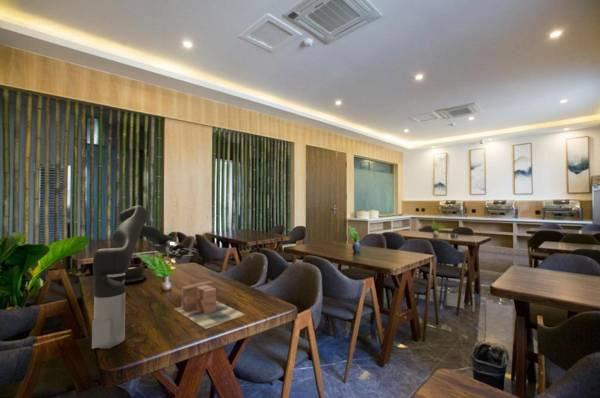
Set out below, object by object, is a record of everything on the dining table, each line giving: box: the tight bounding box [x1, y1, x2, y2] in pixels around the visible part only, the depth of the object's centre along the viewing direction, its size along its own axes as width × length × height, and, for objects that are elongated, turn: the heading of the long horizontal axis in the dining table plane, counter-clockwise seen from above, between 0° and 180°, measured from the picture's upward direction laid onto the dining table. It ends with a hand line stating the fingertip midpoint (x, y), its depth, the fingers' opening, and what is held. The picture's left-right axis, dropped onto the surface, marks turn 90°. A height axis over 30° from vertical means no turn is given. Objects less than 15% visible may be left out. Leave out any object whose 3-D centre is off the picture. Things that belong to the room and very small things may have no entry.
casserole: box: [124, 263, 147, 283], centre depth 178 cm, size 25×19×8 cm
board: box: [174, 300, 246, 330], centre depth 126 cm, size 29×19×1 cm, turn 47°
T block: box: [180, 280, 217, 314], centre depth 130 cm, size 14×14×10 cm
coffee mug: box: [107, 273, 125, 284], centre depth 153 cm, size 12×9×10 cm
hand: (189, 256), depth 141 cm, fingers open, 8 cm apart
